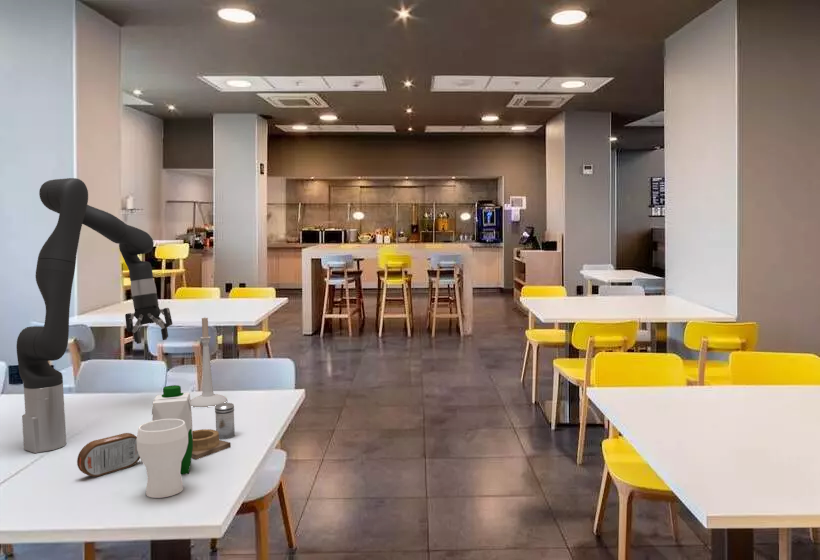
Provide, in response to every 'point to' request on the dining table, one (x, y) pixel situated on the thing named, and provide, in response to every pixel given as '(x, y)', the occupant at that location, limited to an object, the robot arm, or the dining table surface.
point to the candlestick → (207, 375)
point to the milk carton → (176, 416)
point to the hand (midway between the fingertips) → (152, 341)
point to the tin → (108, 455)
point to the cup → (163, 455)
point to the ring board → (207, 452)
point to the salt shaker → (225, 420)
